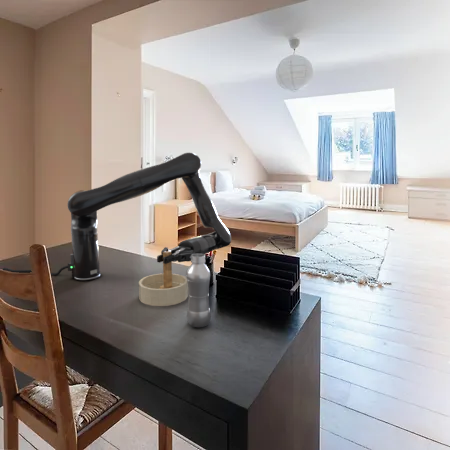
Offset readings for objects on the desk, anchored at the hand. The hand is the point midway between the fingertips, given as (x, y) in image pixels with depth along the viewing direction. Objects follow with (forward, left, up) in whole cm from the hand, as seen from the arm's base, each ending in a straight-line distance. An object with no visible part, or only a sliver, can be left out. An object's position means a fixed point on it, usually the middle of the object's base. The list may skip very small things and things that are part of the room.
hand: (161, 260), depth 112 cm
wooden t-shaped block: (+1, +3, -12) cm, 12 cm away
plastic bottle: (+16, -14, -14) cm, 26 cm away
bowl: (0, +2, -13) cm, 14 cm away
